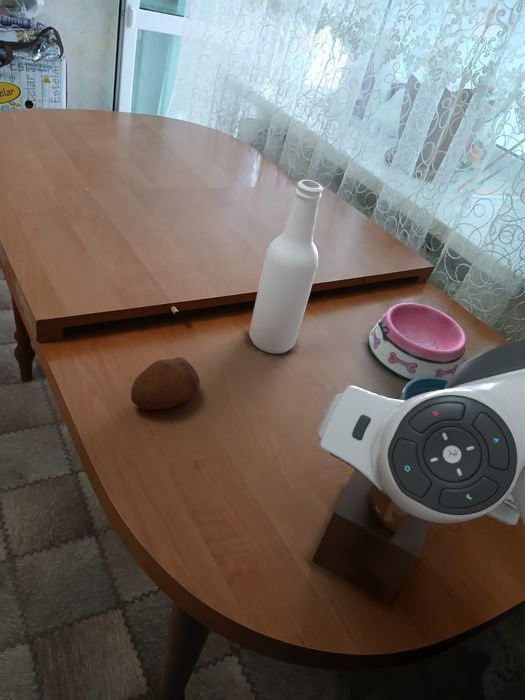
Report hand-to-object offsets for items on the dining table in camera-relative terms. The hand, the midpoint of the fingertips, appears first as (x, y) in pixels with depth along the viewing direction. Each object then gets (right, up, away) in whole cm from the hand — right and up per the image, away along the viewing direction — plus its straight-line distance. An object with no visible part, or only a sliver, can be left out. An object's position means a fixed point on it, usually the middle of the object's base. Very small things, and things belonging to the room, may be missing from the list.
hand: (410, 460), depth 60 cm
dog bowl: (+13, +11, +46) cm, 49 cm away
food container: (-2, -5, +4) cm, 7 cm away
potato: (-31, +4, +23) cm, 39 cm away
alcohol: (-15, +14, +40) cm, 45 cm away
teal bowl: (+13, -1, +30) cm, 33 cm away
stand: (-3, -12, +10) cm, 16 cm away
